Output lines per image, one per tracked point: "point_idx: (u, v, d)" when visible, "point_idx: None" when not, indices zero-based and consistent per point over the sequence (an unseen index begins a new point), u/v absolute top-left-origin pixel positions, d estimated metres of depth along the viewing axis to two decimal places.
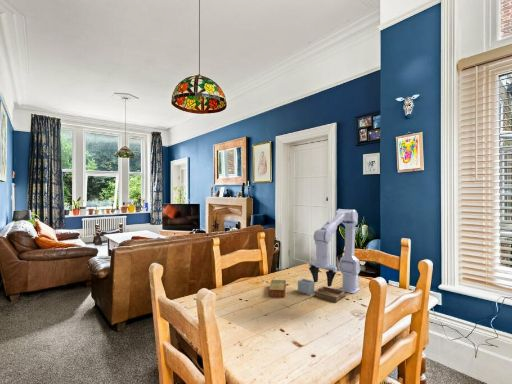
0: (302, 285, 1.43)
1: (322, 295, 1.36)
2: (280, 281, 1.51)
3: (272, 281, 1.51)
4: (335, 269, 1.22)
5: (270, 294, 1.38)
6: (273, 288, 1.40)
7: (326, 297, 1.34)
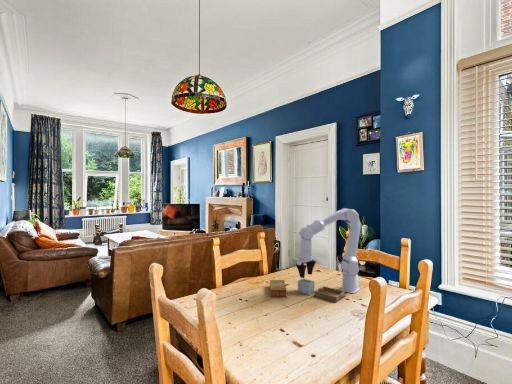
0: (302, 285, 1.43)
1: (322, 295, 1.36)
2: (279, 281, 1.51)
3: (271, 281, 1.51)
4: (297, 262, 1.39)
5: (272, 294, 1.38)
6: (275, 288, 1.40)
7: (326, 297, 1.34)
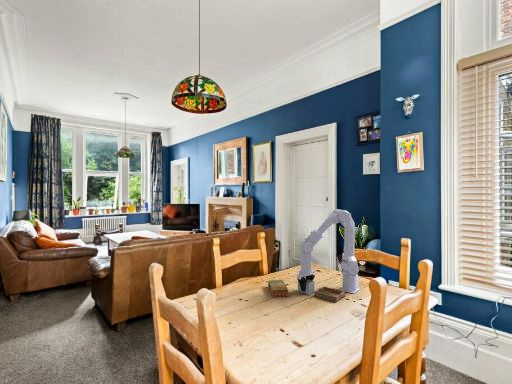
0: None
1: (322, 295, 1.36)
2: (277, 281, 1.51)
3: (270, 281, 1.50)
4: (298, 276, 1.39)
5: (274, 295, 1.37)
6: (276, 288, 1.40)
7: (326, 297, 1.34)
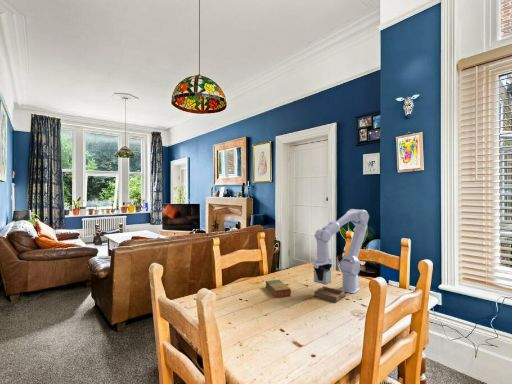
0: None
1: (322, 295, 1.36)
2: (275, 281, 1.51)
3: (269, 282, 1.49)
4: (314, 265, 1.35)
5: (277, 295, 1.37)
6: (279, 288, 1.39)
7: (326, 297, 1.34)
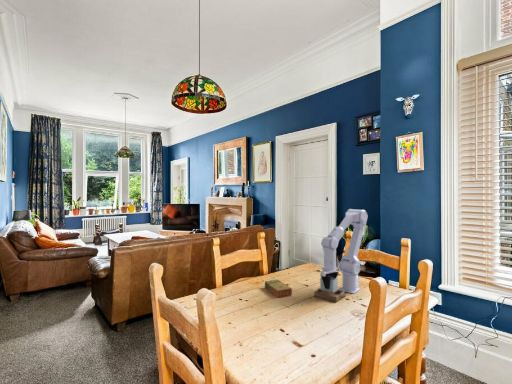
0: None
1: (322, 295, 1.36)
2: (274, 281, 1.51)
3: (268, 282, 1.49)
4: (322, 273, 1.33)
5: (279, 295, 1.37)
6: (280, 288, 1.39)
7: (326, 297, 1.34)
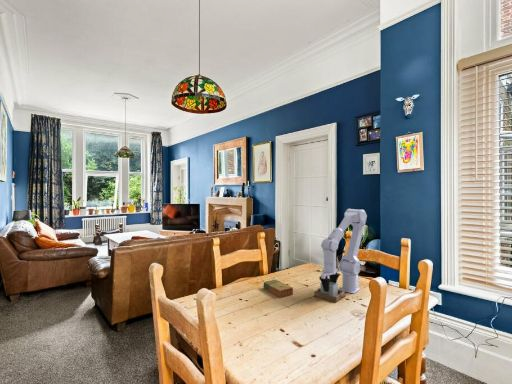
0: None
1: (322, 295, 1.36)
2: (273, 281, 1.51)
3: (267, 283, 1.48)
4: (322, 275, 1.33)
5: (281, 295, 1.37)
6: (282, 288, 1.40)
7: (326, 297, 1.34)
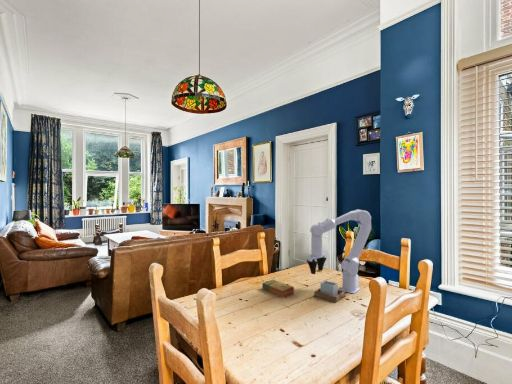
0: (325, 288, 1.37)
1: (322, 295, 1.36)
2: (271, 281, 1.51)
3: (267, 283, 1.47)
4: (309, 258, 1.42)
5: (284, 295, 1.37)
6: (283, 288, 1.40)
7: (326, 297, 1.34)
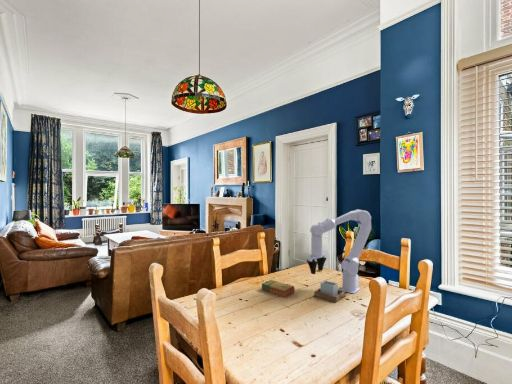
0: (325, 288, 1.37)
1: (322, 295, 1.36)
2: (270, 281, 1.50)
3: (266, 284, 1.46)
4: (309, 258, 1.42)
5: (286, 294, 1.38)
6: (285, 287, 1.40)
7: (326, 297, 1.34)
